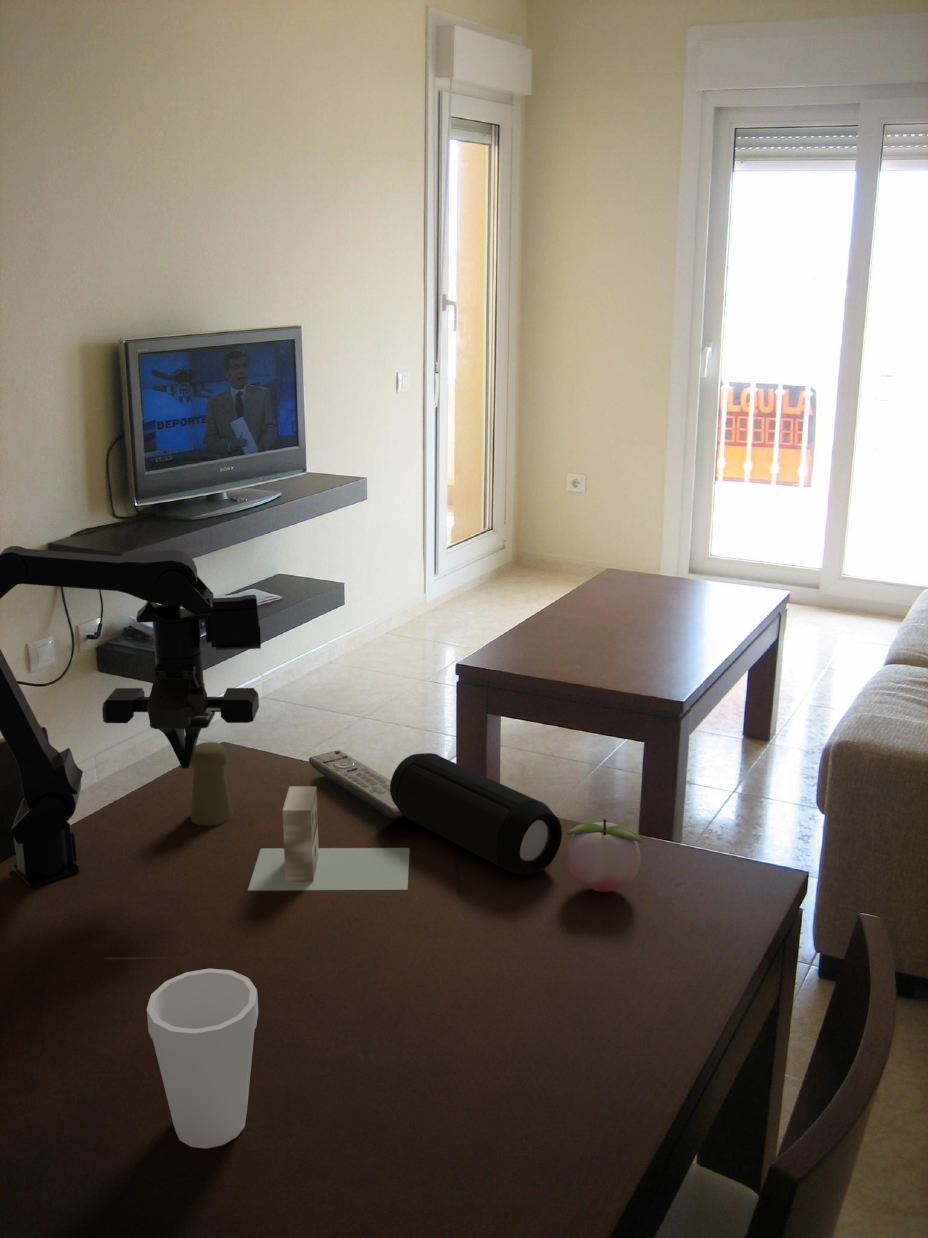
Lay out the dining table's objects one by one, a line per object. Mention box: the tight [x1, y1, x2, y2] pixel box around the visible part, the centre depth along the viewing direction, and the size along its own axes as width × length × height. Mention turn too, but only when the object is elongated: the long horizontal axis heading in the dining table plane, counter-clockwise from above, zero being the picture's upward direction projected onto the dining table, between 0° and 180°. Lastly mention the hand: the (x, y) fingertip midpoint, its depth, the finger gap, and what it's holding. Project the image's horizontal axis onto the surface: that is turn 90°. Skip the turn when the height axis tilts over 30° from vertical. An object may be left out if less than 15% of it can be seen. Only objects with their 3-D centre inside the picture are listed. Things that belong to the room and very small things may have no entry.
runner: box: [247, 847, 411, 892], centre depth 149 cm, size 20×11×1 cm, turn 91°
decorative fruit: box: [566, 818, 644, 893], centre depth 143 cm, size 9×8×10 cm
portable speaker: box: [389, 752, 563, 875], centre depth 155 cm, size 26×10×10 cm, turn 42°
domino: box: [282, 785, 319, 882], centre depth 148 cm, size 4×7×10 cm, turn 1°
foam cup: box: [146, 968, 259, 1149], centre depth 103 cm, size 10×9×13 cm
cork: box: [189, 741, 234, 827], centre depth 162 cm, size 6×6×11 cm
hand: (186, 767), depth 148 cm, fingers closed
